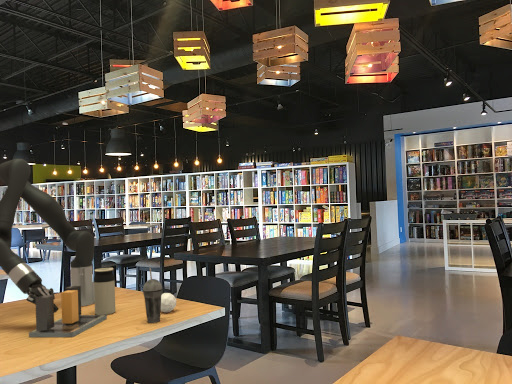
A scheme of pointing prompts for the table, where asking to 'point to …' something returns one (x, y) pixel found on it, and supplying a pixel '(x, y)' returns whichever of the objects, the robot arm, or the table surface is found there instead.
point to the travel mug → (104, 291)
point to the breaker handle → (69, 306)
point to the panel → (57, 328)
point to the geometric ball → (167, 302)
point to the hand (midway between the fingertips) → (55, 311)
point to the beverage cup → (152, 299)
